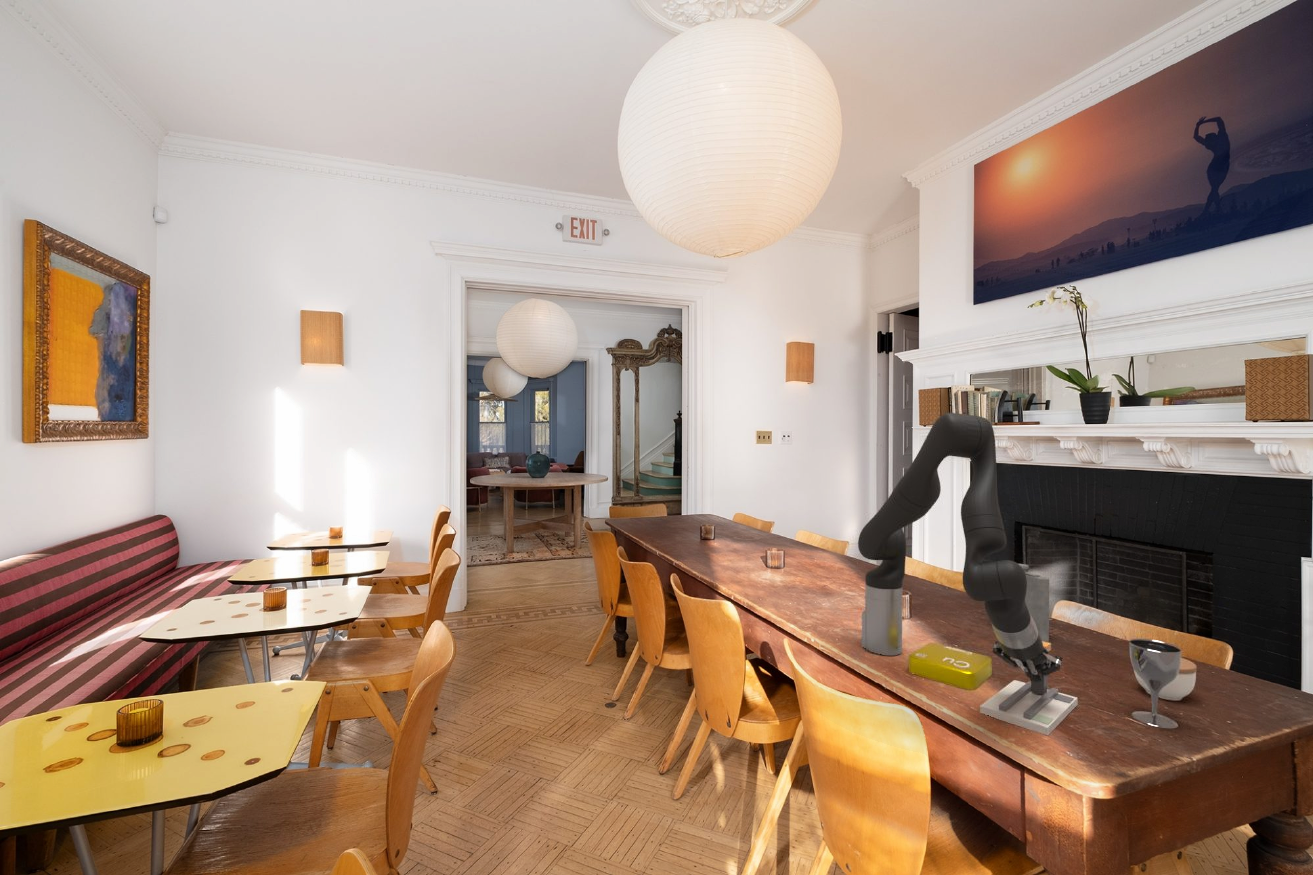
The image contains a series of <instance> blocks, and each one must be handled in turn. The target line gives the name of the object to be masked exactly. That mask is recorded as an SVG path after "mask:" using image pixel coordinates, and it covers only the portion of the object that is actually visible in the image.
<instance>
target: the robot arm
mask: <svg viewBox="0 0 1313 875" xmlns="http://www.w3.org/2000/svg"><path fill="white" fill-rule="evenodd" d="M996 449H997V448H996V438H995V431H994V428H993V425H992V423H991V421H990V420H989V419H988V418H986V417H982V416H978V415H974V414H973V415H972V414H965V413H957V412H956V413H955V412H947V413H943V414H941V415H940V416H939V417H938V418H937V419H936V420H935V421H934V423H933V424H932V426H931V428H930V430H929V432H928V434H927V436H926V438H925V439H924V440H923V443H922V445H921V447H920V449H919V451H918V453H917V454H916V456H915V458H914V460H913V461H912V462H911V464H910V466H909V467H908V469H907V470H906V472H905V473H904V474H903V476H902V477H901V478H900V480H899V481H898V482H897V484H896V485H895V487H894V488H893V490H892V492H891V493H890V495H889V496H888V498H887V499H886V500H885V502H884V503H883V505H882V506H881V507H880V509H879V510H878V511H877V512H876V513H875V515H874V516H873V517H871V519H870V520H869V521H868V522H867V523H866V524H865V525H864V527H863V528H862V529H861V531H860V533H859V537H858V542H857V547H858V551H859V553H860V555H862V557H864V559H867V560H870V561H881V563H880V564H879V565H878V566H877V567H876V568H873V569H872V570H870V571H869V570H868V571H867V572H866V574H865V576H864V577H865V578H864V579H865V580H864V582H865V584H864V585H865V586H864V588H865V593H864V596H865V598H864V600H865V601H864V602H865V603H864V604H865V605H864V606H865V609H864V611H862V612H861V648H863V647H864V648H863V649H865V648H866V649H865V650H867V651H868V650H869V651H868V652H870V653H872V652H874V653H873V654H876V653H877V654H876V655H880V654H882V655H881V656H891V657H892V656H898V654H899V655H901V654H902V653H903V581H904V578H905V574H906V559H907V558H906V556H907V555H906V554H907V538H906V535H905V532H904V530H903V528H905V527H907V526H909V525H911V524H913V523H914V522H917V521H918V520H920V519H922V518H923V517H924V516H926V514H927V513H928V512H929V511H930V510H931V509H932V508H933V506H934V505H935V504H936V502H937V501H938V499H939V497H940V495H941V491H942V490H941V481H940V477H939V471H938V469H939V467H940V465H941V463H942V462H943V461H944V460H945V458H948V457H957V458H966V459H970V463H971V466H972V470H973V473H972V474H973V476H972V479H971V482H970V484H969V487H968V489H967V490H966V492H965V494H964V495H963V496H964V497H963V499H962V502H961V506H960V517H961V518H960V519H961V524H962V529H963V535H964V540H965V541H964V542H965V557H964V564H963V571H962V586H963V590H964V592H965V593H966V595H968V597H969V598H971V599H972V600H974V601H976V602H984V604H983V605H984V610H985V611H986V615H987V616H988V618H989V620H990V622H991V626H992V630H993V632H994V634H995V636H996V639H997V640H995V643H994V645H993V647H992V651H991V652H992V653H993V654H994V655H996V656H997V657H999V658H1000V659H1002V661H1004V662H1006V663H1007V664H1008V665H1010V666H1012V667H1013V668H1015V669H1019V668H1020V669H1021V670H1022V671H1023V672H1024V673H1025V675H1026V677H1027V678H1029V679H1030V680H1029V681H1030V682H1031V681H1034V682H1038V683H1039V681H1042V678H1043V675H1045V676H1046V675H1051V674H1053V673H1056V672H1057V671H1060V670H1061V667H1062V662H1063V657H1062V656H1059V655H1054V656H1052V655H1050V654H1049V652H1048V651H1047V650H1046V649H1045V648H1044V647H1043V642H1042V639H1041V637H1040V634H1039V632H1038V629H1037V627H1036V624H1035V622H1034V620H1033V618H1032V616H1031V615H1030V613H1029V611H1028V608H1027V606H1026V603H1025V597H1026V591H1027V578H1026V574H1025V572H1024V570H1023V568H1022V567H1021V566H1020V565H1019V564H1020V563H1017V562H1016V561H1013V560H1009V559H1007V560H1005V559H1003V560H998V561H987V562H983V561H984V559H985V558H986V556H989V555H992V554H994V553H998V552H1000V551H1002V550H1003V549H1005V548H1006V546H1007V544H1008V543H1007V541H1008V540H1007V536H1006V532H1005V526H1004V523H1003V518H1002V515H1001V510H1000V505H999V504H1000V503H999V498H998V496H999V495H998V484H997V483H998V479H997V475H998V473H997V454H996V453H997V451H996ZM1011 658H1012V659H1011ZM1042 662H1043V664H1040V663H1042Z"/></svg>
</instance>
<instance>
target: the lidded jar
mask: <svg viewBox="0 0 1313 875" xmlns="http://www.w3.org/2000/svg"><path fill="white" fill-rule="evenodd" d="M1197 667H1198V666H1197V665H1196V664H1195V662H1192V661H1191V660H1189V659H1187V658H1184V657H1181V665H1180V670H1179V673H1178V675H1177V677H1176V679H1174V680H1173V681H1172V682H1170V683H1169V684H1168V685H1166V686H1165V687H1163V688H1162V689H1161V691H1160V692H1159V695H1158V699H1162V700H1166V701H1167V700H1168V701H1183V700H1182V699H1183V698H1185V697H1187V696H1188V695H1190V693H1192V691H1193V690H1194V688H1195V685H1196V679H1197V672H1198V671H1197V670H1198V669H1197ZM1133 672H1134V675H1135V678H1136V681H1137V682H1138V683H1139V684H1140V686H1141V688H1143V689H1144V690H1145V692H1146V693H1147V694H1149V695H1150V696H1151V692H1150V690H1149V688H1148V686H1147V684H1146V683H1145V682H1144V681H1143V680H1142V678H1141V677H1140V676H1139V675H1138V674H1137V673H1136V671H1135V670H1134V669H1133Z"/></svg>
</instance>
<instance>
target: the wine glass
mask: <svg viewBox="0 0 1313 875" xmlns="http://www.w3.org/2000/svg"><path fill="white" fill-rule="evenodd" d="M1129 656H1130V662H1131V665H1132V668H1133V671H1134V670H1135V671H1136V673H1137V674H1138V675H1139V676H1140V677H1141V678H1142V680H1143V681H1144V682H1145V683H1146V684H1147V686H1148V688H1149V690H1150V692H1151V695H1150V697H1151V712H1150V711H1145V710H1144V711H1143V710H1142V711H1141V710H1140V711H1137V710H1136V711H1133V712H1132V713H1131V717H1133V718H1134V719H1135V720H1136V721H1139V722H1141V723H1143V724H1146V725H1148V726H1151V727H1156V728H1162V729H1172V730H1173V729H1176V728H1178V727H1179V724H1178V723H1177V721H1175V720H1174V719H1172V718H1169V717H1167V716H1165V715H1161V714H1158V700H1159V698H1158V695H1159V692H1160V691H1161V689H1162V688H1163V687H1165V686H1166V685H1168V684H1169V683H1170V682H1172V681H1173V680H1174V679H1176V677H1177V675H1178V673H1179V670H1180V665H1181V658H1182V649H1181V648H1180V647H1178V646H1177V645H1174V644H1172V643H1169V642H1165V641H1160V640H1156V639H1148V638H1132V639H1129Z"/></svg>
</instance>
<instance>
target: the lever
mask: <svg viewBox="0 0 1313 875" xmlns="http://www.w3.org/2000/svg"><path fill="white" fill-rule="evenodd" d="M1042 642H1043V641H1042ZM1043 647H1044V648H1045V649H1046V650H1047V651H1048V653H1049V652H1050V651H1051V650H1052V643H1051V642H1043ZM1040 664H1043V662H1042V663H1040ZM1048 678H1049V677H1048V675H1046V676H1045V675H1043V678H1042V681H1039V683H1038V682H1034V681H1031V680H1030V682H1031V692H1034V693H1037V694H1041V695H1044V694H1045V693H1046V692H1047V689H1048Z"/></svg>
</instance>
